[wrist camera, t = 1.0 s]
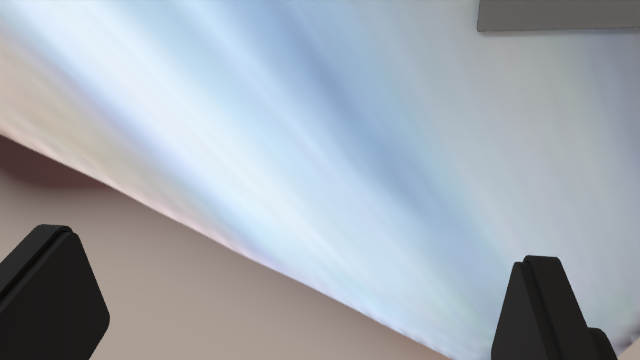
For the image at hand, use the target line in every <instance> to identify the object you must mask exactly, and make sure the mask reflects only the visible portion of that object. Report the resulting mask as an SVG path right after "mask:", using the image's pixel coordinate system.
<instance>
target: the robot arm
mask: <svg viewBox="0 0 640 360" xmlns="http://www.w3.org/2000/svg"><path fill="white" fill-rule="evenodd" d="M109 321H110V315H109V312H108V309H107V306H106V304H105V302H104V299H103V296H102V294H101V291H100V289H99V286H98V284H97V281H96V279H95V276H94V274H93V271H92V269H91V266H90V264H89V261H88V258H87V256H86V253H85V251H84V249H83V246H82V243H81V241H80V238H79V237H78V235H77V234H76V233H73V231H72V229H71V228H70V227H68V226H62V225H47V224H42V225H38V226H37V227H35V228H34V229H33V230H32V231H31V232H30V233H29V234H28V235H27V236H26V237H25V238H24V239H23V240H22V241H21V242H20V243H19V245H18V246H17V247H16V248H15V249H14V250H13V251H12V252H11V253H10V254H9V255H8V256H7V257H6V258H5V259H4V260H3V261H2V262H1V263H0V360H89V358H90V357H91V355H92V354H93V352H94V350H95V349H96V347H97V345H98V344H99V342H100V340H101V339H102V337H103V336H104V334H105V332H106V331H107V329H108V326H109ZM491 360H618V359H617V357H616V355H615V352H614V350H613V348H612V346H611V343H610V341H609V339H608V338H607V336H606V334H605V333H604V332H603V331H602V330H601V329H598V328H589V327H587V325H586V322H585V320H584V317H583V315H582V312H581V310H580V308H579V305H578V303H577V300H576V298H575V295H574V293H573V291H572V288H571V286H570V283H569V281H568V278H567V276H566V273H565V271H564V269H563V266H562V264H561V262H560V260H559V259H558V258H557V257H547V256H531V255H527V256H525V258H524V260H523V262H515V263H514V265H513V268H512V272H511V276H510V280H509V284H508V287H507V291H506V295H505V299H504V303H503V306H502V310H501V314H500V318H499V322H498V325H497V329H496V333H495V337H494V341H493V344H492V349H491Z"/></svg>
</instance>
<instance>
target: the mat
mask: <svg viewBox="0 0 640 360" xmlns="http://www.w3.org/2000/svg"><path fill="white" fill-rule="evenodd" d="M627 27H640V0H480V5H479V14H478V23H477V30H478V32H485V31H520V30H556V29H592V28H627Z"/></svg>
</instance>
